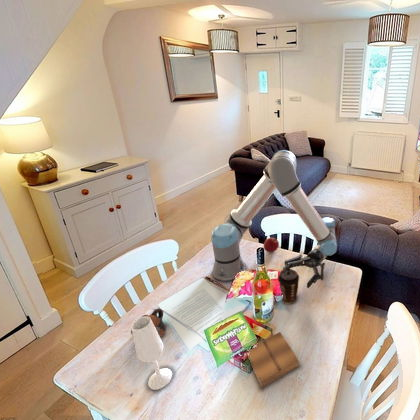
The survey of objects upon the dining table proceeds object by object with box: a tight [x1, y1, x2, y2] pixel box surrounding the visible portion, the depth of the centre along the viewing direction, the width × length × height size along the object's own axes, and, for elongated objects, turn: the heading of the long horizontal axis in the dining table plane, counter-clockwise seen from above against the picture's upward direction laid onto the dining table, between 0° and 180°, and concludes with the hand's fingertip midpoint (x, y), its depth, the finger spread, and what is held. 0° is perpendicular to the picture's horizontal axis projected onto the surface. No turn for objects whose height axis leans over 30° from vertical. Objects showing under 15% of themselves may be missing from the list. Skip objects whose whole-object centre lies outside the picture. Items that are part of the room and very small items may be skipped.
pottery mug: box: [130, 308, 167, 338], centre depth 99 cm, size 12×10×8 cm
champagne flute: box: [130, 316, 173, 391], centre depth 78 cm, size 7×7×24 cm
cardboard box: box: [248, 331, 300, 389], centre depth 89 cm, size 13×13×3 cm
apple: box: [263, 237, 280, 253], centre depth 146 cm, size 8×8×8 cm
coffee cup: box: [277, 268, 300, 304], centre depth 113 cm, size 9×8×13 cm
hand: (294, 280), depth 116 cm, fingers open, 13 cm apart
